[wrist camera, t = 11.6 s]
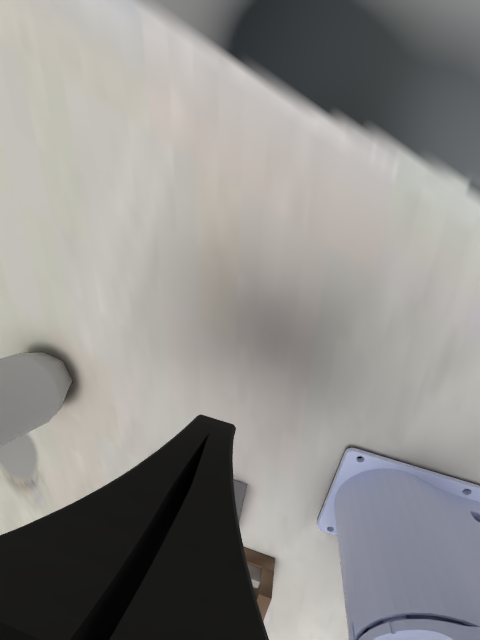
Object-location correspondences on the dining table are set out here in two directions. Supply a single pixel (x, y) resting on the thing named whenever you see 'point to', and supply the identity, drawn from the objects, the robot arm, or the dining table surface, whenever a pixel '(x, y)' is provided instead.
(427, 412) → the dining table surface
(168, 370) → the dining table surface
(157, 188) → the dining table surface
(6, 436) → the salt shaker
